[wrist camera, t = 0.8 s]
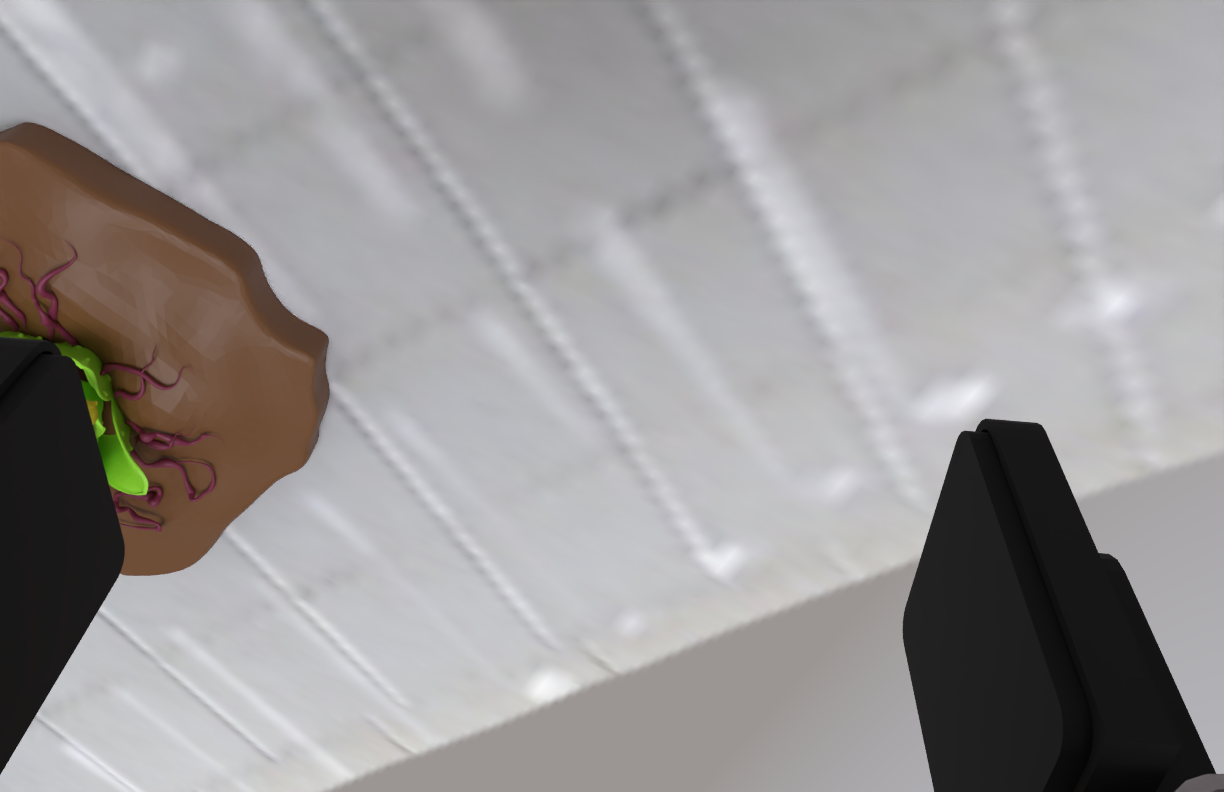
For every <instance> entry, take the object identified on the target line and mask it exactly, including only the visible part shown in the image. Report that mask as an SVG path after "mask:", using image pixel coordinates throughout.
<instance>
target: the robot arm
mask: <svg viewBox="0 0 1224 792" xmlns="http://www.w3.org/2000/svg"><path fill="white" fill-rule="evenodd" d="M124 556H125V544H124V539H123V535H122V531H121V527H120V524H119V520H118V516H117V513H116V509H115V505H114V502H113V498H112V494H111V490H110V487H109V483H108V479H107V476H106V472H105V468H104V465H103V461H102V457H101V453H100V450H99V446H98V442H97V439H96V435H95V431H94V428H93V424H92V420H91V417H90V413H89V409H88V405H87V402H86V398H85V394H84V391H83V387H82V383H81V380H80V376H79V372H78V369H77V366H76V364H75V362H74V361H73V359H72V358H70V357H68V356H62V354H61V352H60V349H59V348H58V347H57V346H56V345H55V344H54V343H52V342H50V341H46V340H34V339H22V338H9V337H0V774H1V772H2V771H3V769H4V767H5V766H6V764H7V762H8V761H9V759H10V757H11V756H12V754H13V752H14V751H15V749H16V747H17V746H18V744H19V742H20V741H21V739H22V737H23V736H24V734H25V732H26V731H27V729H28V727H29V726H30V724H31V722H32V721H33V719H34V717H35V716H36V714H37V712H38V710H39V709H40V707H41V705H42V704H43V702H44V700H45V699H46V697H47V695H48V694H49V692H50V690H51V689H52V687H53V685H54V684H55V682H56V680H57V679H58V677H59V675H60V674H61V672H62V670H63V669H64V667H65V665H66V664H67V662H68V660H69V659H70V657H71V655H72V654H73V652H74V650H75V649H76V647H77V645H78V643H79V642H80V640H81V638H82V637H83V635H84V633H85V632H86V630H87V628H88V627H89V625H90V623H91V622H92V620H93V618H94V617H95V615H96V613H97V612H98V610H99V608H100V607H101V605H102V603H103V602H104V600H105V598H106V597H107V595H108V593H109V592H110V590H111V588H112V587H113V585H114V583H115V581H116V580H117V578H118V576H119V574H120V572H121V569H122V566H123V563H124ZM903 640H904V647H905V652H906V656H907V661H908V666H909V671H910V676H911V681H912V686H913V691H914V695H915V700H916V705H917V710H918V715H919V720H920V725H921V729H922V734H923V739H924V744H925V749H926V753H927V758H928V763H929V768H930V773H931V778H932V783H933V787H934V792H1224V774H1216V772H1215V770H1214V768H1213V766H1212V764H1211V761H1210V759H1209V757H1208V754H1207V752H1206V750H1205V748H1204V746H1203V743H1202V741H1201V739H1200V737H1199V735H1198V732H1197V730H1196V728H1195V726H1194V724H1193V722H1192V719H1191V717H1190V715H1189V713H1188V710H1187V708H1186V706H1185V704H1184V702H1183V699H1182V697H1181V695H1180V693H1179V690H1178V688H1177V686H1176V684H1175V682H1174V679H1173V677H1172V675H1171V673H1170V671H1169V668H1168V666H1167V664H1166V662H1165V659H1164V657H1163V655H1162V653H1161V651H1160V648H1159V646H1158V644H1157V642H1156V640H1155V637H1154V635H1153V633H1152V631H1151V629H1150V626H1149V624H1148V622H1147V620H1146V618H1145V615H1144V613H1143V611H1142V609H1141V606H1140V605H1139V602H1138V600H1137V598H1136V595H1135V594H1134V591H1133V589H1132V587H1131V585H1130V582H1129V580H1128V578H1127V576H1126V573H1125V571H1124V570H1123V568H1122V567H1121V565H1120V563H1119V562H1118V560H1117V559H1115V558H1114V557H1113V556H1111V555H1109V554H1102V553H1098V551H1097V549H1096V546H1095V544H1094V542H1093V540H1092V537H1091V535H1090V533H1089V530H1088V528H1087V526H1086V524H1085V521H1084V519H1083V517H1082V514H1081V512H1080V510H1079V507H1078V505H1077V503H1076V500H1075V498H1074V496H1073V493H1072V491H1071V489H1070V486H1069V484H1068V482H1067V480H1066V477H1065V475H1064V473H1063V470H1062V468H1061V466H1060V463H1059V461H1058V459H1057V457H1056V454H1055V452H1054V450H1053V447H1052V445H1051V443H1050V440H1049V438H1048V436H1047V433H1046V431H1045V430H1044V428H1043V427H1042V425H1040V424H1038V423H1031V422H1019V421H1007V420H995V419H984V420H982V421H981V422H980V424H979V425H978V426H977V429H976V431H975V432H973V431H963V432H961V434H960V435H959V437H958V439H957V442H956V445H955V448H954V451H953V454H952V458H951V461H950V464H949V467H948V471H947V474H946V477H945V480H944V484H943V487H942V490H941V493H940V497H939V500H938V503H937V506H936V510H935V513H934V516H933V519H932V523H931V526H930V529H929V532H928V536H927V539H926V542H925V545H924V549H923V552H922V555H921V558H920V562H919V565H918V568H917V572H916V575H915V578H914V581H913V585H912V588H911V591H910V594H909V597H908V601H907V604H906V607H905V612H904V618H903Z"/></svg>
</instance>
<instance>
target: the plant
mask: <svg viewBox="0 0 1224 792" xmlns="http://www.w3.org/2000/svg"><path fill="white" fill-rule="evenodd" d="M0 337H9V338H22V339H34V340H46V341H50V342H52V343H54V344H55V345H56V346H57V347H58V348H59V349H60V352H61V354H62V356H68V357H70V358H72V359H73V361H74V362H75V364H76V366H77V369H78V372H79V376H80V380H81V383H82V387H83V391H84V394H85V398H86V402H87V405H88V409H89V413H90V417H91V420H92V424H93V428H94V431H95V435H96V439H97V442H98V446H99V450H100V453H101V457H102V461H103V465H104V468H105V472H106V476H107V479H108V483H109V487H110V490H111V494H112V498H113V502H114V505H115V509H116V513H117V516H118V520H119V524H120V527H121V531H122V535H123V539H124V544H125V556H124V563H123V566H122V569H121V572H120V574H122V575H128V576H151V575H160V574H168V573H172V572H176V571H180V570H183V569H185V568H188V567H190V566H191V565H193V564H195V563H196V562H197V561H198V560H200V559H201V558H202V557H203V556H204V555H205V554H206V553H207V552H208V551H209V550H210V549H211V548H212V546H213V545H214V544H215V543H216V541H217V540H218V539H219V537H220V536H221V535H222V533H223V532H224V530H225V529H226V527H227V526H228V525H229V524H230V523H231V522H232V521H233V520H234V519H236V518H237V517H238V516H239V515H240V514H241V513H242V512H244V511H245V510H246V509H247V508H248V507H249V506H250V505H251V504H252V503H253V502H254V501H255V500H256V499H257V498H258V497H260V496H261V495H262V494H263V493H264V492H265V491H266V490H267V489H268V488H269V487H270V486H272V485H273V484H274V483H275V482H276V481H277V480H279V479H281V478H283V477H284V476H286V475H288V474H291V473H293V472H296V471H298V470H299V469H300V468H302V467H303V466H304V465H305V464H306V463H307V461H308V460H309V458H310V456H311V454H312V452H313V449H314V447H315V445H316V443H317V441H318V437H319V425H320V423H321V420H322V418H323V416H324V413H325V410H326V407H327V403H328V399H329V383H328V379H327V375H326V369H325V362H326V352H327V346H328V342H329V339H328V336H327V335H326V334H325V333H324V332H322V331H321V330H319V329H317V328H315V327H313V326H311V325H309V324H307V323H305V322H303V321H302V320H300V319H298V318H297V317H296V316H294V315H293V314H292V313H291V312H290V311H288V310H287V309H286V308H285V307H284V306H283V305H282V303H281V302H280V301H279V299H278V298H277V297H276V295H275V294H274V292H273V291H272V290H271V288H270V286H269V284H268V282H267V280H266V277H265V275H264V272H263V269H262V265H261V262H260V259H259V257H258V255H257V253H256V252H255V250H254V249H253V248H252V247H250V246H249V245H248V244H247V243H246V242H245V241H243V240H242V239H241V238H239V237H238V236H236V235H235V234H233V233H232V232H230V231H228V230H226V229H224V228H223V227H221V226H219V225H217V224H215V223H213V222H211V221H209V220H208V219H206V218H204V217H203V216H201V215H199V214H198V213H196V212H195V211H193V210H191V209H190V208H188V207H186V206H185V205H183V204H181V203H179V202H178V201H176V200H174V199H172V198H171V197H169V196H167V195H165V194H163V193H162V192H160V191H158V190H156V189H154V188H152V187H151V186H149V185H147V184H145V183H143V182H142V181H140V180H138V179H136V178H134V177H132V176H131V175H129V174H127V173H126V172H124V171H122V170H120V169H119V168H117V167H115V166H114V165H112V164H111V163H109V162H107V161H106V160H104V159H103V158H101V157H100V156H98V155H96V154H95V153H93V152H91V151H90V150H88V149H86V148H85V147H83V146H81V145H79V144H77V143H76V142H74V141H72V140H70V139H68V138H66V137H64V136H62V135H60V134H58V133H57V132H55V131H53V130H51V129H48V128H46V127H44V126H41V125H38V124H34V123H22V124H19V125H17V126H15V127H13V128H10V129H7V130H5V131H2V132H0Z"/></svg>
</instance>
